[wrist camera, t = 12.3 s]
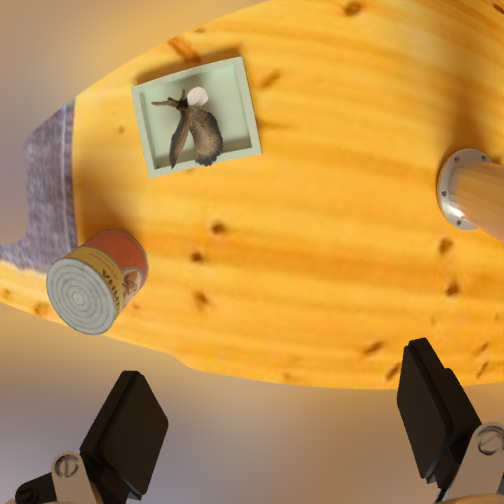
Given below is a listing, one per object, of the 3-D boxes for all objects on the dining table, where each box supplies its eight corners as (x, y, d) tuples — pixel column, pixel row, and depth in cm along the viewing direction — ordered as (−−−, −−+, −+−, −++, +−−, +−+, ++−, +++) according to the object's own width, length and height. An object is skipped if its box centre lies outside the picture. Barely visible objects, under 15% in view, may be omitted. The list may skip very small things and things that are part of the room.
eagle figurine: (148, 120, 36) (165, 179, 35) (153, 85, 30) (171, 149, 29) (202, 111, 39) (222, 166, 38) (215, 78, 33) (240, 137, 32)
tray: (243, 60, 34) (241, 56, 32) (262, 153, 39) (261, 154, 37) (137, 89, 36) (130, 87, 34) (155, 176, 41) (149, 178, 39)
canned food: (146, 301, 48) (116, 345, 37) (89, 284, 48) (51, 321, 37) (151, 237, 44) (114, 270, 33) (88, 222, 44) (42, 249, 33)
